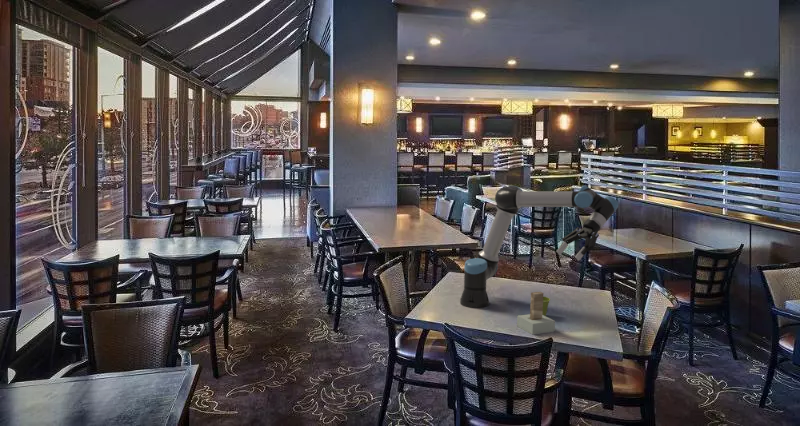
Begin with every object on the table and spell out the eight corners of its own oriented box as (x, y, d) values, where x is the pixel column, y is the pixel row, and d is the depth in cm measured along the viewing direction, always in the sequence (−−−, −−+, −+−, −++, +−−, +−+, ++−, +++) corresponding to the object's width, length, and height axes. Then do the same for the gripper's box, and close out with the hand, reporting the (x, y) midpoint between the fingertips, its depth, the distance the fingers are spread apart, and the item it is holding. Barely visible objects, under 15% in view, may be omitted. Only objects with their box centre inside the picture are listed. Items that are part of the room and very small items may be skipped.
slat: (529, 326, 246) (531, 292, 244) (538, 325, 248) (540, 291, 246) (532, 328, 243) (534, 294, 241) (541, 326, 245) (543, 293, 243)
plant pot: (546, 319, 259) (547, 302, 258) (527, 316, 264) (528, 299, 263) (551, 314, 267) (552, 297, 266) (533, 311, 272) (534, 294, 271)
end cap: (516, 326, 249) (517, 315, 248) (538, 323, 253) (538, 313, 253) (532, 334, 238) (532, 323, 237) (554, 331, 242) (555, 320, 242)
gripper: (617, 232, 248) (589, 266, 245) (580, 225, 271) (554, 255, 268) (609, 221, 246) (580, 255, 242) (572, 215, 269) (546, 246, 265)
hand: (567, 256), depth 255 cm, fingers open, 13 cm apart
